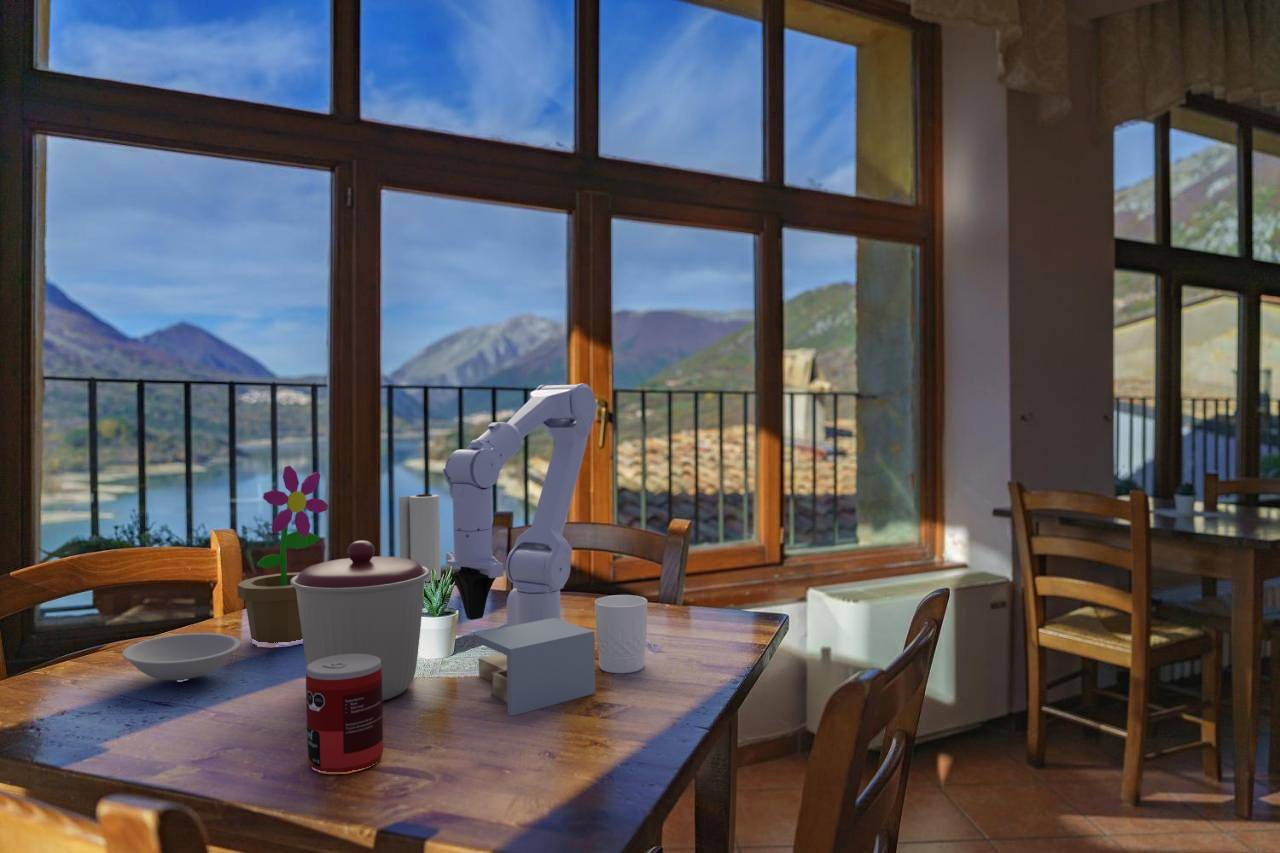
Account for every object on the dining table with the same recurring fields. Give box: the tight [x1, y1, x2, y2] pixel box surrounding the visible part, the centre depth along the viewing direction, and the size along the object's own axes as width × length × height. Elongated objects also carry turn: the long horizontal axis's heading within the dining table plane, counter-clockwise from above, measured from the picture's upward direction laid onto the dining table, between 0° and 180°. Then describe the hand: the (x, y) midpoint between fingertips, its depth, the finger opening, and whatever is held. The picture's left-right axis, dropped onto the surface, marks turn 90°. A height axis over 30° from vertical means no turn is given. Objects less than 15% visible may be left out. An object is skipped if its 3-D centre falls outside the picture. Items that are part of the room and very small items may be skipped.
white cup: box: [594, 594, 648, 674], centre depth 126 cm, size 8×8×10 cm
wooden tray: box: [478, 652, 508, 704], centre depth 118 cm, size 16×9×4 cm, turn 39°
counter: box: [472, 618, 596, 717], centre depth 114 cm, size 10×13×8 cm
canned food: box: [305, 654, 384, 772], centre depth 93 cm, size 8×8×11 cm
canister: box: [290, 540, 430, 702], centre depth 116 cm, size 18×18×21 cm
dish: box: [121, 632, 241, 681], centre depth 122 cm, size 18×14×5 cm
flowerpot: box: [237, 465, 329, 643], centre depth 144 cm, size 14×14×30 cm
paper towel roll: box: [398, 493, 442, 582], centre depth 175 cm, size 7×6×21 cm
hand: (474, 618), depth 128 cm, fingers closed
